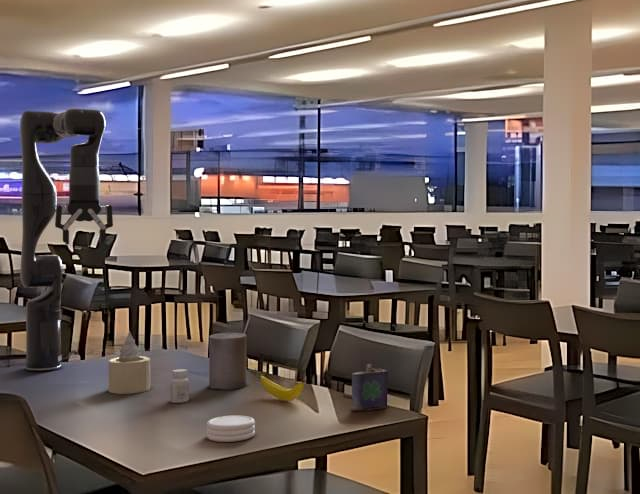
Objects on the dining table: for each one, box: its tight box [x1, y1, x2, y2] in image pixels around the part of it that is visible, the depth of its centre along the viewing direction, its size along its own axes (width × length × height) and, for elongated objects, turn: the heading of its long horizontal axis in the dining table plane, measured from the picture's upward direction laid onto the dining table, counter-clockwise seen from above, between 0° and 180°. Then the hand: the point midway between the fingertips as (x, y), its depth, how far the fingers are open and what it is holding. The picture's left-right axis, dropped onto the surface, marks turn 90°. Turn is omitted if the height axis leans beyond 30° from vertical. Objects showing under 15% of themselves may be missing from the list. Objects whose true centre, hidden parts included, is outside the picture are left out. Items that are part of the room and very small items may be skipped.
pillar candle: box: [208, 330, 247, 391], centre depth 256 cm, size 10×10×15 cm
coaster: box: [206, 414, 256, 443], centre depth 203 cm, size 10×10×4 cm
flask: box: [351, 363, 389, 412], centre depth 230 cm, size 9×3×11 cm, turn 121°
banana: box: [259, 375, 306, 402], centre depth 239 cm, size 3×19×6 cm, turn 45°
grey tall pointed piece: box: [119, 330, 140, 362], centre depth 251 cm, size 5×5×15 cm
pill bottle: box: [169, 368, 190, 404], centre depth 237 cm, size 4×4×8 cm
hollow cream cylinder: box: [108, 355, 151, 395], centre depth 251 cm, size 10×10×8 cm
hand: (84, 243), depth 257 cm, fingers open, 8 cm apart
